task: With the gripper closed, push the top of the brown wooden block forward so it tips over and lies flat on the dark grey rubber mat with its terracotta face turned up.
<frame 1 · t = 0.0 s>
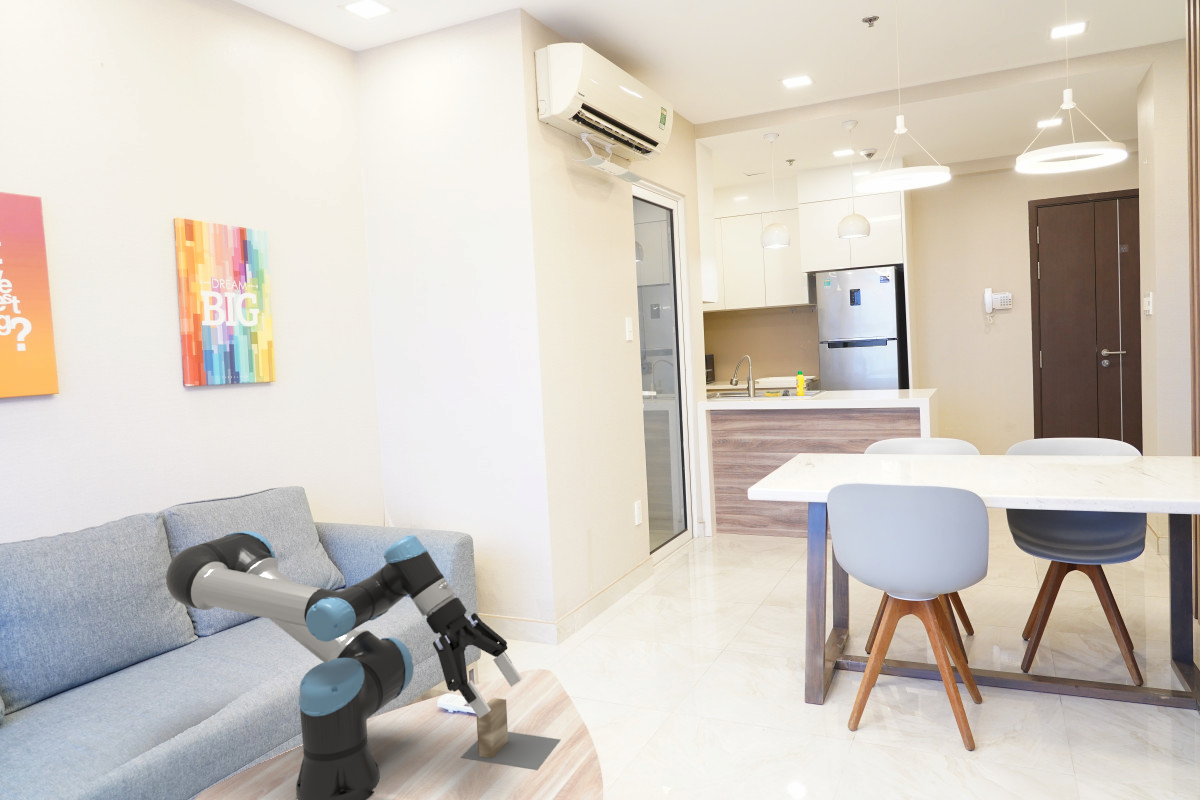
hand: (501, 698, 150), 15 cm above the table, tool tilted 35°, fingers open, 13 cm apart
brown wooden block: (494, 748, 159), point 1 cm above the table, touching mat
mat: (511, 751, 159), on the table
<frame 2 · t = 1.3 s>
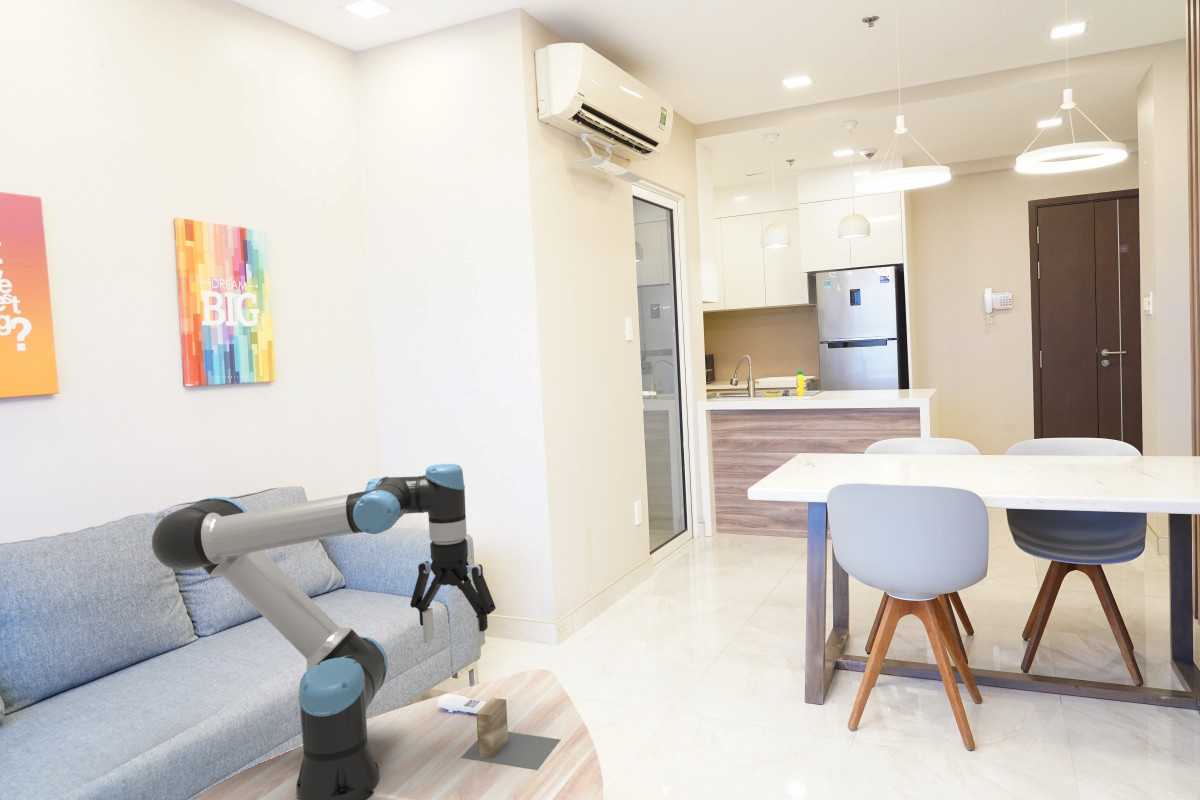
hand: (454, 643, 160), 22 cm above the table, tool pointing down, fingers open, 11 cm apart
nothing on the table moved.
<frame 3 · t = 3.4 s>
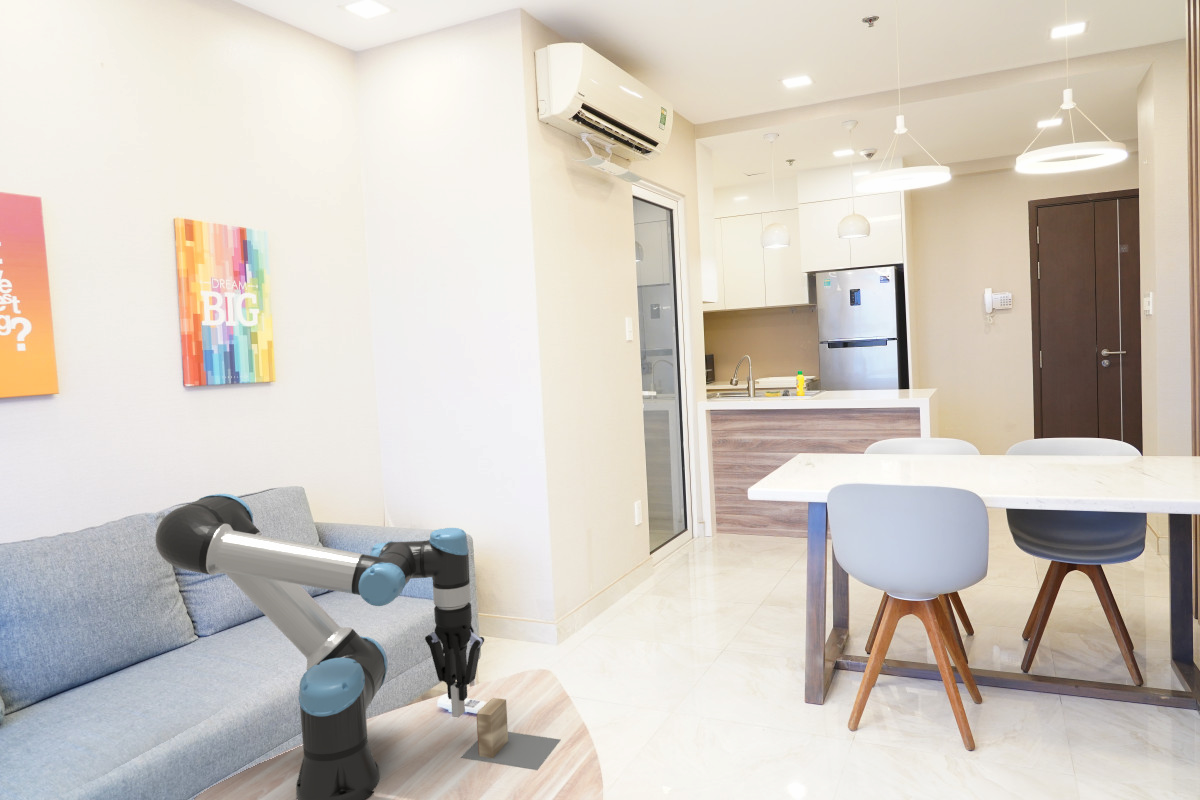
hand: (458, 714, 162), 7 cm above the table, tool pointing down, fingers closed
nothing on the table moved.
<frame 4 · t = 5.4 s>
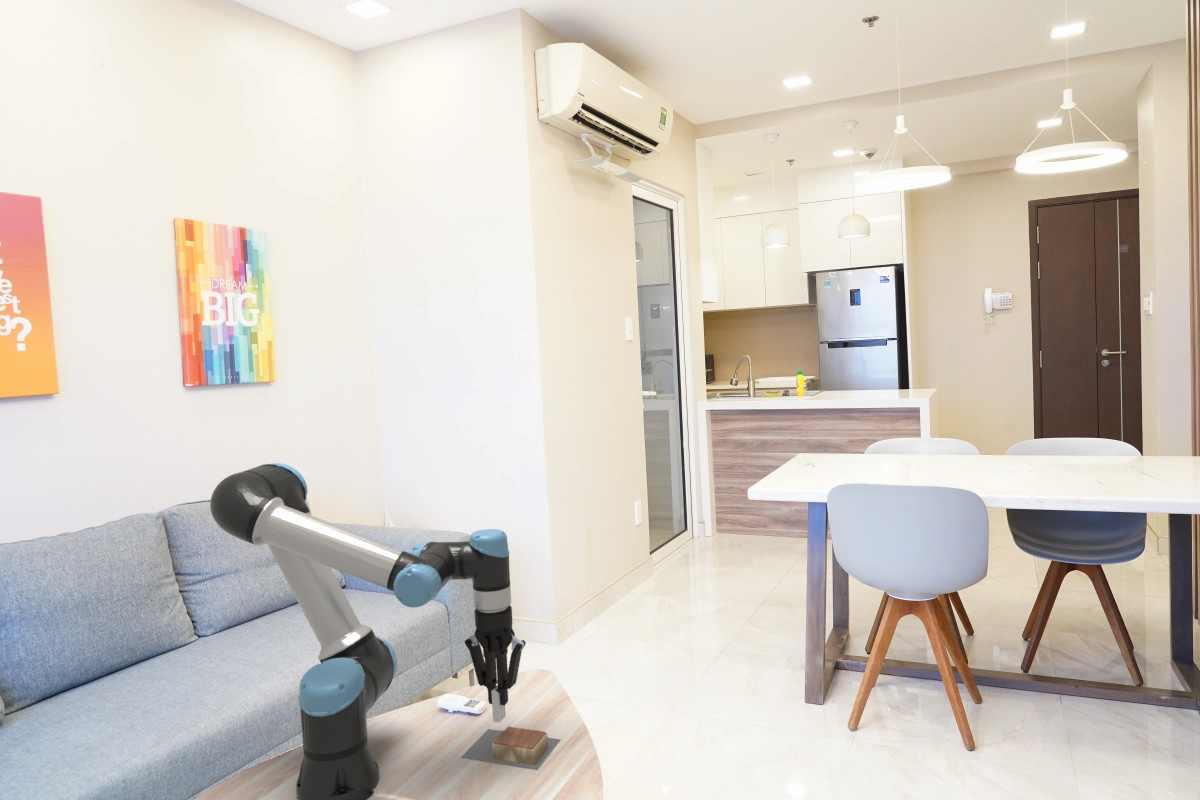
hand: (499, 718, 159), 7 cm above the table, tool pointing down, fingers closed
brown wooden block: (500, 742, 159), point 2 cm above the table, tilted 90°, touching mat
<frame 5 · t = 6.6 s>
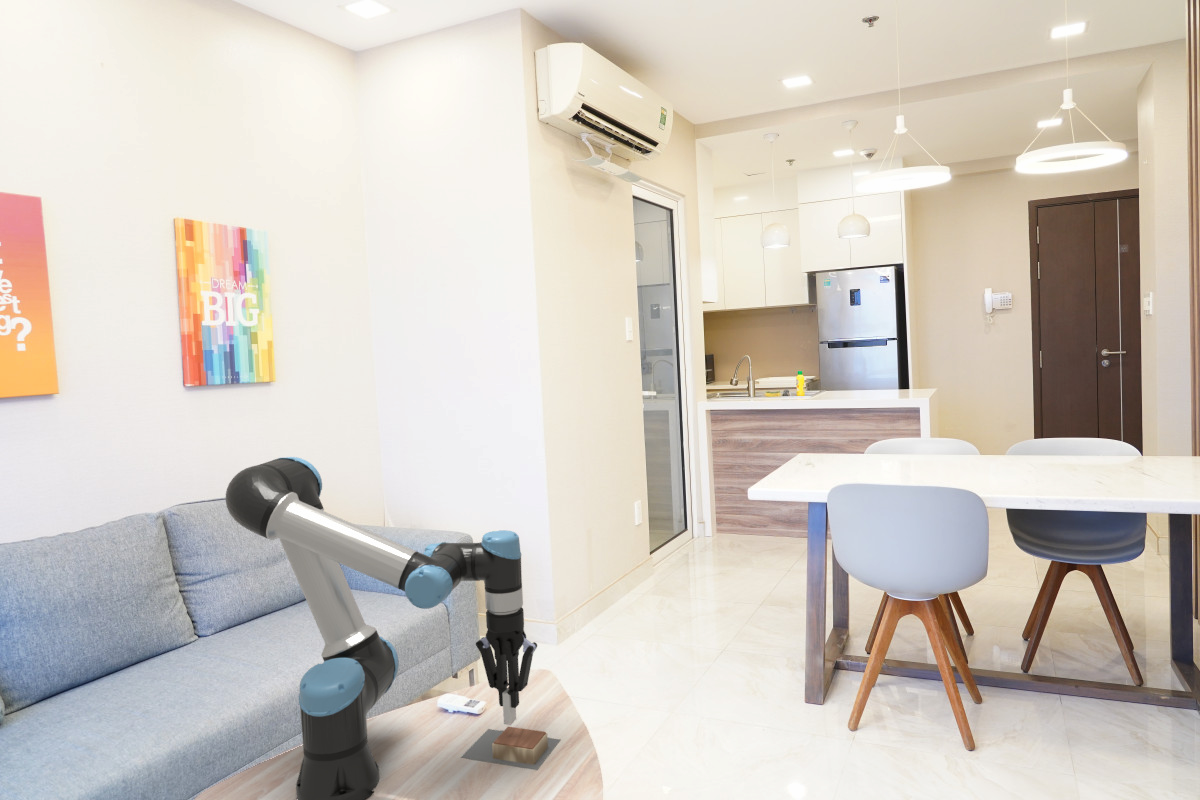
hand: (510, 721, 158), 7 cm above the table, tool pointing down, fingers closed
nothing on the table moved.
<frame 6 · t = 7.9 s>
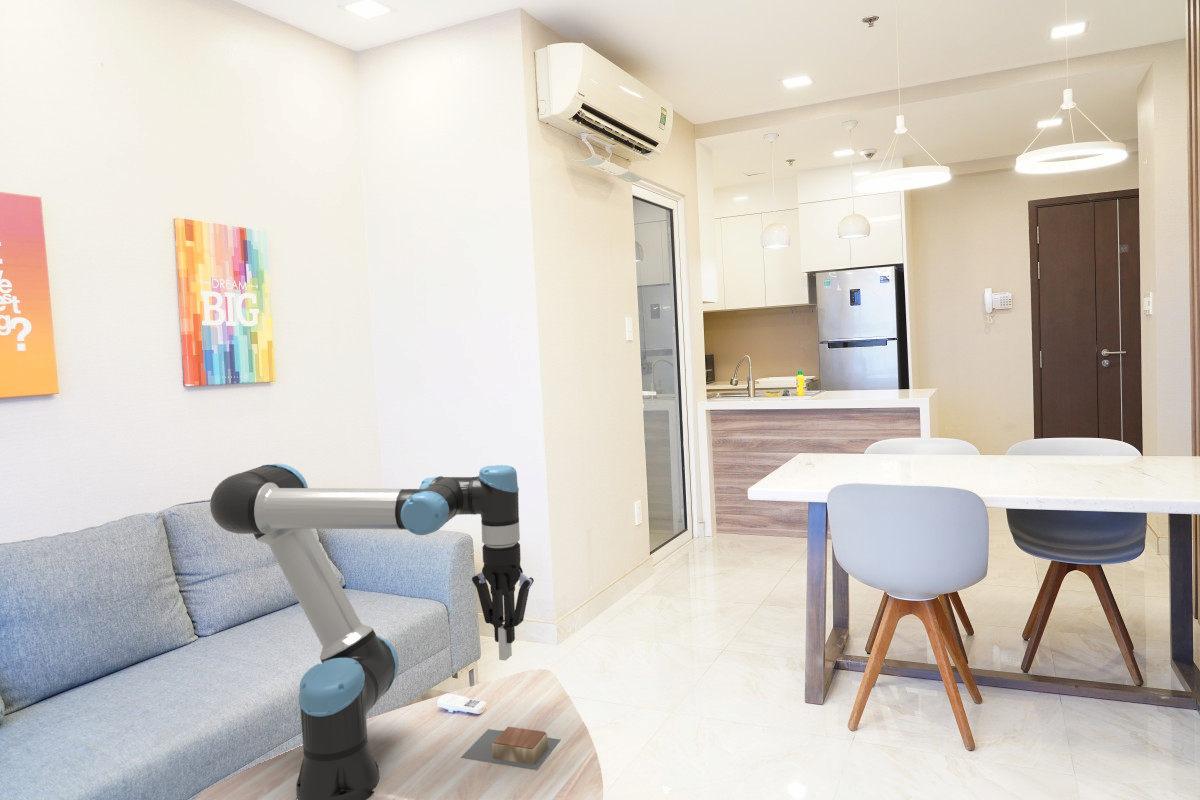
hand: (505, 657, 157), 20 cm above the table, tool pointing down, fingers closed
nothing on the table moved.
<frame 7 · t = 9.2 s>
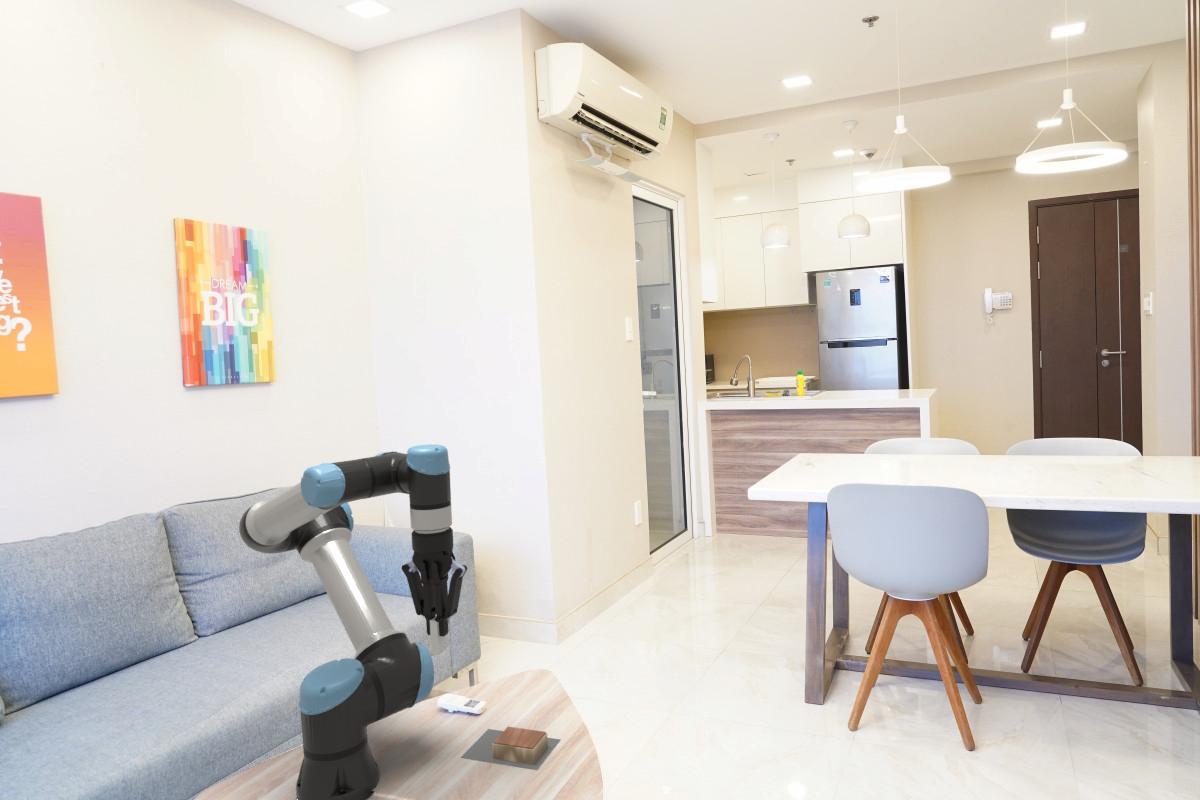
hand: (438, 651, 145), 26 cm above the table, tool pointing down, fingers closed
nothing on the table moved.
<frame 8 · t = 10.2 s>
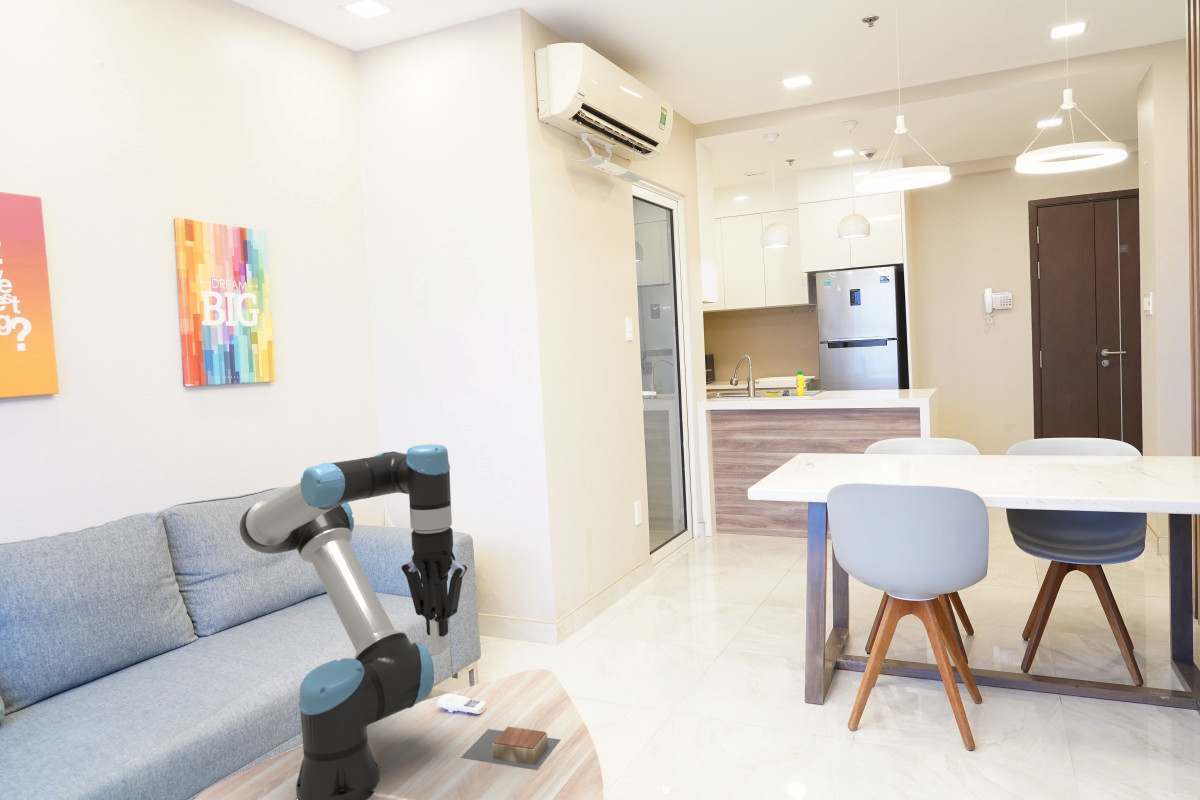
hand: (438, 651, 145), 26 cm above the table, tool pointing down, fingers closed
nothing on the table moved.
at the end: brown wooden block tilted 90°; brown wooden block inside the target area on the mat (2.0 cm from its centre), point 2.1 cm above the mat's base; brown wooden block touching mat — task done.
